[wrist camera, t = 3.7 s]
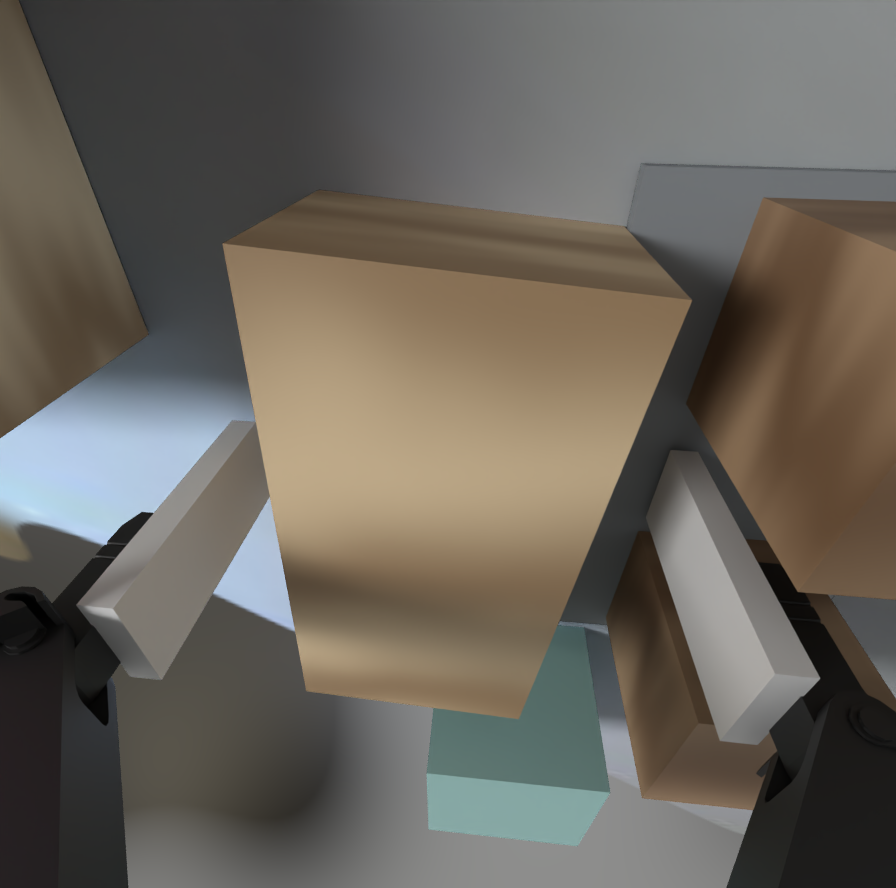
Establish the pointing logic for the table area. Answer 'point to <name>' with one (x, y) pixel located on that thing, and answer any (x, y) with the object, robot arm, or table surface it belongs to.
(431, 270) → the lintel
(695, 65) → the table surface
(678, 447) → the mat
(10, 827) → the robot arm
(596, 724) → the cube
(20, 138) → the wooden open box
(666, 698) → the pillar
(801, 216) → the pillar
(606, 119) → the table surface
